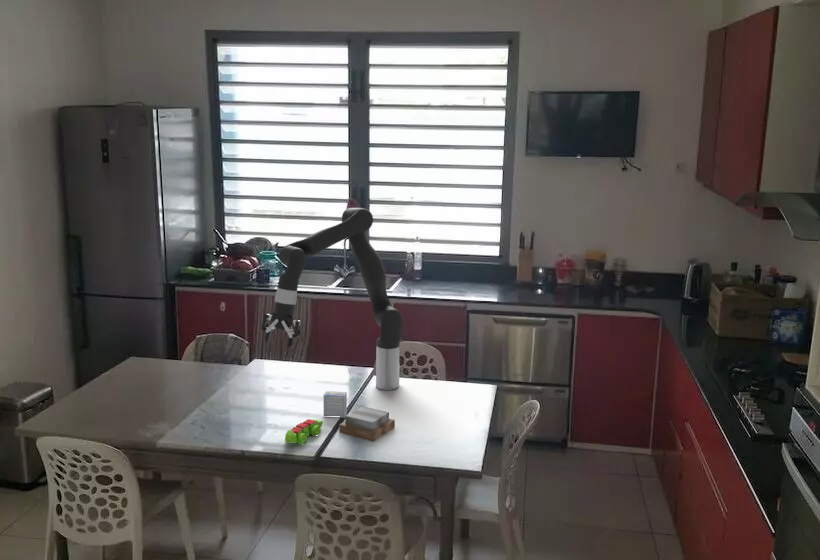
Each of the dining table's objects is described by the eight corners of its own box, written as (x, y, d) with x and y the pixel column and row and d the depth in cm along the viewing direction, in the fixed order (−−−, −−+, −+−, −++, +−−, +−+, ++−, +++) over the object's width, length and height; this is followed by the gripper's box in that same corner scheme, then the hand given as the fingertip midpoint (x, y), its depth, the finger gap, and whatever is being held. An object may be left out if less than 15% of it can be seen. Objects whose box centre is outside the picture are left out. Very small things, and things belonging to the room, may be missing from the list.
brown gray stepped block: (361, 419, 278) (361, 403, 277) (394, 427, 271) (394, 411, 270) (339, 432, 266) (339, 416, 265) (373, 441, 259) (373, 425, 258)
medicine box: (346, 414, 283) (347, 391, 281) (344, 418, 279) (344, 396, 277) (325, 412, 284) (325, 390, 282) (323, 417, 279) (323, 394, 278)
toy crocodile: (312, 426, 271) (312, 410, 270) (327, 430, 268) (327, 414, 267) (277, 446, 254) (277, 429, 253) (294, 451, 251) (294, 433, 250)
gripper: (307, 304, 279) (300, 348, 280) (272, 297, 283) (265, 340, 284) (299, 305, 272) (291, 350, 273) (262, 298, 276) (256, 342, 277)
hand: (278, 345), depth 279 cm, fingers open, 8 cm apart
